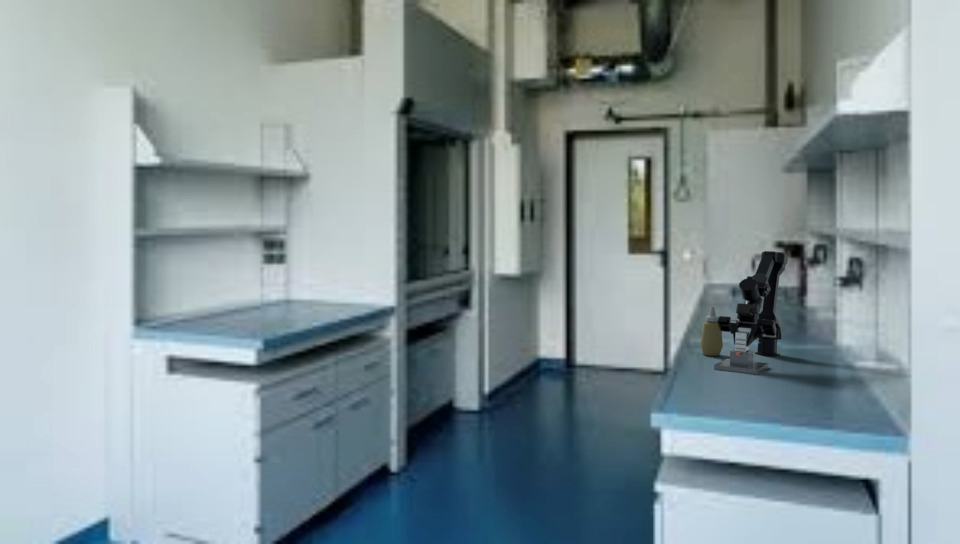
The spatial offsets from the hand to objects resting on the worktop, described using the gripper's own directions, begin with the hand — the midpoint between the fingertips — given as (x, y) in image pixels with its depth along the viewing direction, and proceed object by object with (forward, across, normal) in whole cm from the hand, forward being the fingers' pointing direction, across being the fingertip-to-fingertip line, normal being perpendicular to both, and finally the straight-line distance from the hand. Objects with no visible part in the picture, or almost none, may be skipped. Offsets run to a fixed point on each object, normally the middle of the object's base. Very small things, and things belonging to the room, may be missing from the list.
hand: (740, 345), depth 253 cm
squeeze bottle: (-9, -17, +21) cm, 28 cm away
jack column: (+3, 0, +5) cm, 6 cm away
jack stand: (+5, 0, +7) cm, 8 cm away
